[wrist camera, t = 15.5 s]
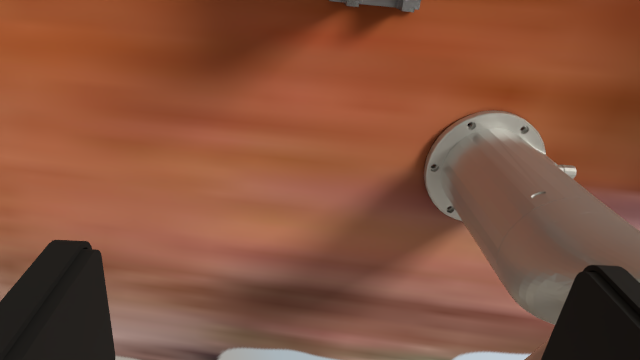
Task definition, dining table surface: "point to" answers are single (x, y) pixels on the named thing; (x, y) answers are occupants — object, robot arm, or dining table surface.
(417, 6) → the stand
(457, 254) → the dining table surface
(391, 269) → the dining table surface
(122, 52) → the dining table surface
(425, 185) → the robot arm
